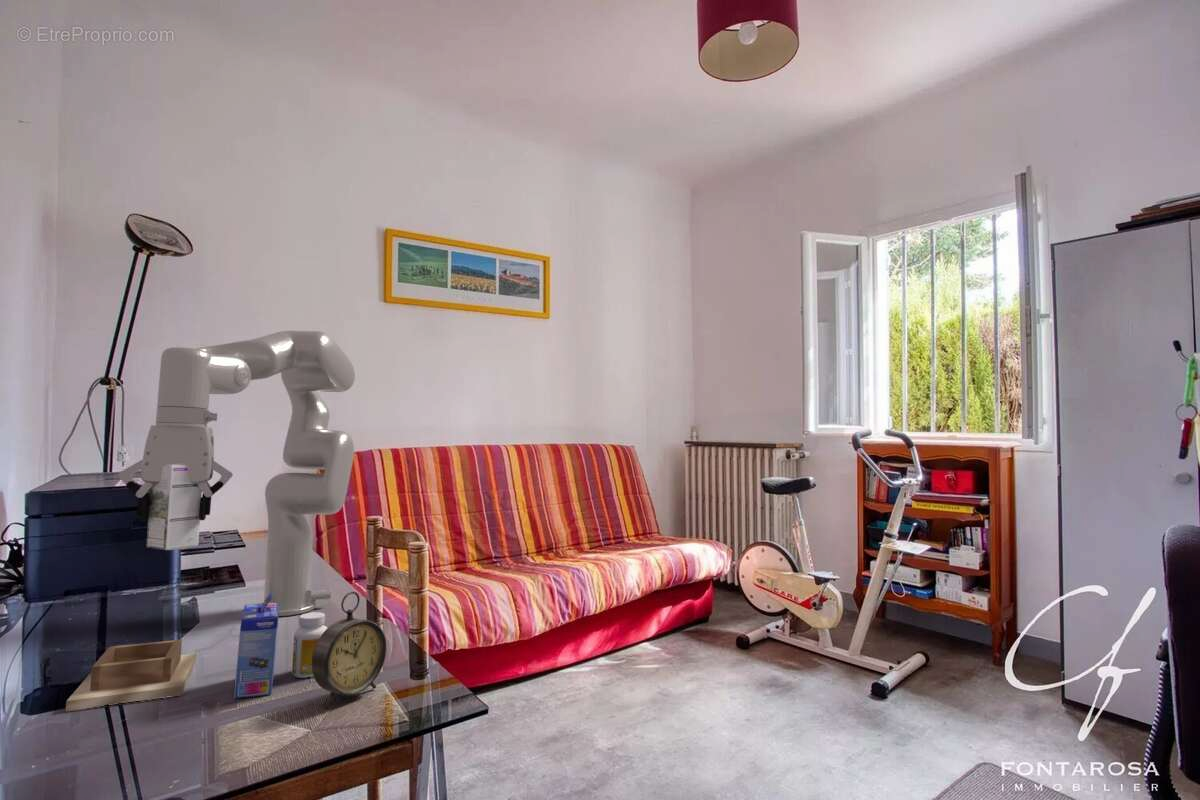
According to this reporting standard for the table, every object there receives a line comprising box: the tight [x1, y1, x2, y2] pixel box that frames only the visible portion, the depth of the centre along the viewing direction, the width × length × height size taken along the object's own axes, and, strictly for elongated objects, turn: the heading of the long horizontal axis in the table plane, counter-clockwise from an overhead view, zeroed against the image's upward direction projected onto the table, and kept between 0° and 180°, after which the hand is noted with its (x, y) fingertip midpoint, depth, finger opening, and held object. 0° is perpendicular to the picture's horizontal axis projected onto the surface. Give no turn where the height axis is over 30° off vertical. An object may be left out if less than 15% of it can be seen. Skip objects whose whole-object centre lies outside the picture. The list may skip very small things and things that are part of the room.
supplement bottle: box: [291, 611, 328, 679], centre depth 106 cm, size 5×5×10 cm
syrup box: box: [145, 463, 203, 551], centre depth 107 cm, size 6×6×14 cm
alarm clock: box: [312, 591, 387, 709], centre depth 97 cm, size 11×5×16 cm, turn 148°
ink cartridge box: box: [233, 592, 279, 699], centre depth 100 cm, size 10×6×14 cm, turn 28°
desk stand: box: [65, 639, 198, 712], centre depth 100 cm, size 14×16×5 cm
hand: (174, 519), depth 107 cm, fingers closed on syrup box, 7 cm apart
